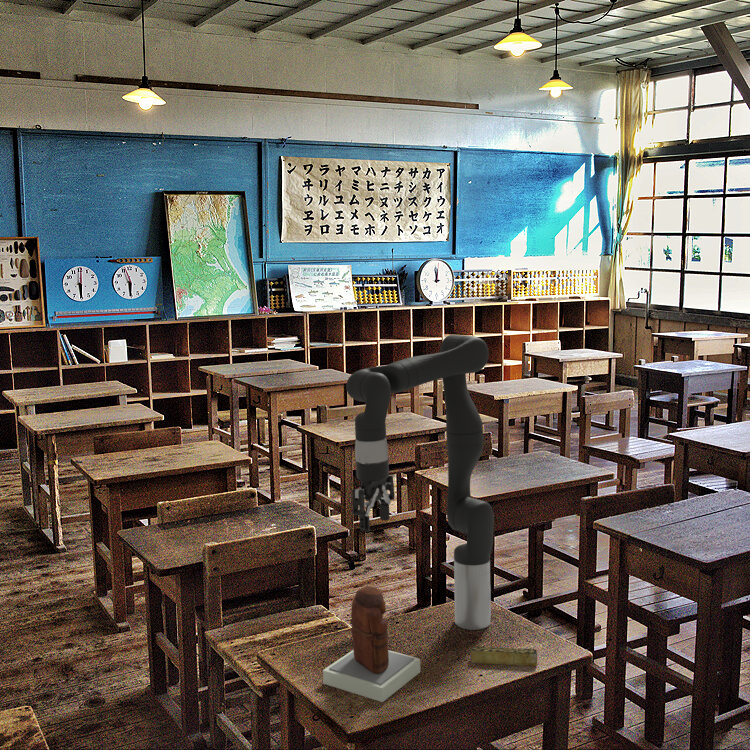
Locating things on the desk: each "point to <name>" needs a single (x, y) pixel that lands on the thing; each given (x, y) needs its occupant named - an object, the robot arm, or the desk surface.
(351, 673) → the plinth
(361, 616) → the wooden figurine
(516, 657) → the decorative block
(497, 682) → the desk surface
